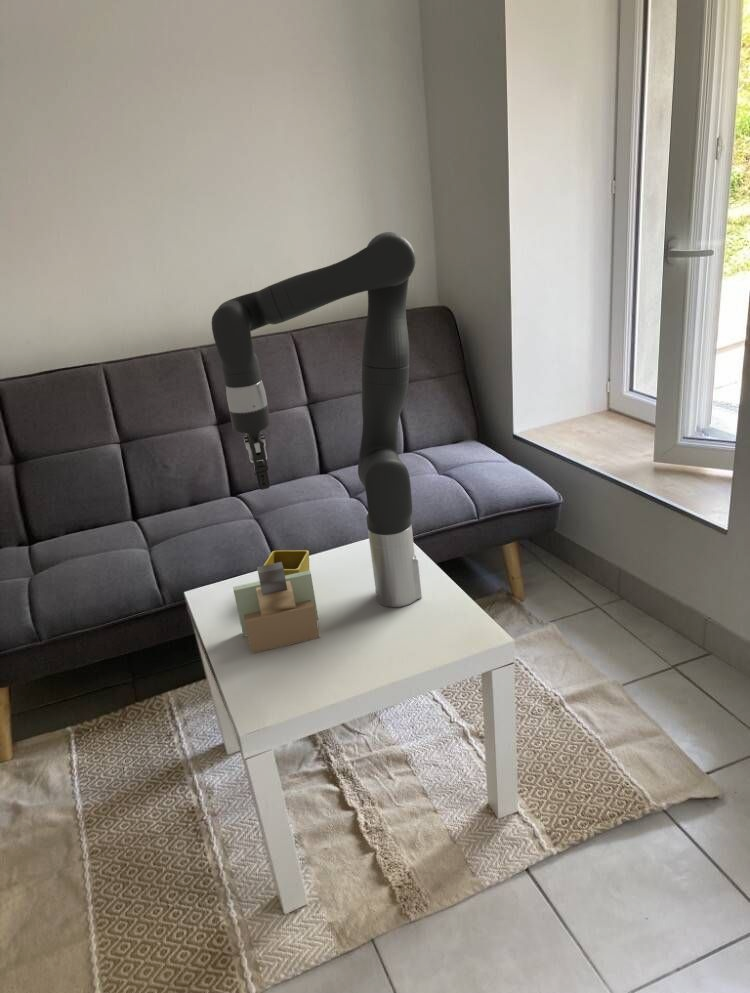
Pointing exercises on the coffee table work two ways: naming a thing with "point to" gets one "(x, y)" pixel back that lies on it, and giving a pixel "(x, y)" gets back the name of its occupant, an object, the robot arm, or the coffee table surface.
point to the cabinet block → (274, 590)
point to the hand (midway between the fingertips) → (262, 481)
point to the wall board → (278, 615)
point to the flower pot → (290, 560)
